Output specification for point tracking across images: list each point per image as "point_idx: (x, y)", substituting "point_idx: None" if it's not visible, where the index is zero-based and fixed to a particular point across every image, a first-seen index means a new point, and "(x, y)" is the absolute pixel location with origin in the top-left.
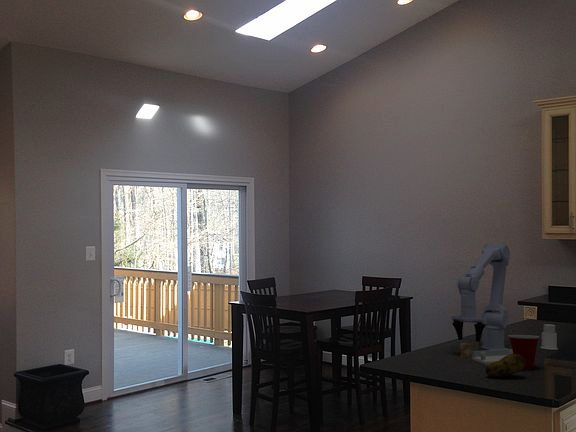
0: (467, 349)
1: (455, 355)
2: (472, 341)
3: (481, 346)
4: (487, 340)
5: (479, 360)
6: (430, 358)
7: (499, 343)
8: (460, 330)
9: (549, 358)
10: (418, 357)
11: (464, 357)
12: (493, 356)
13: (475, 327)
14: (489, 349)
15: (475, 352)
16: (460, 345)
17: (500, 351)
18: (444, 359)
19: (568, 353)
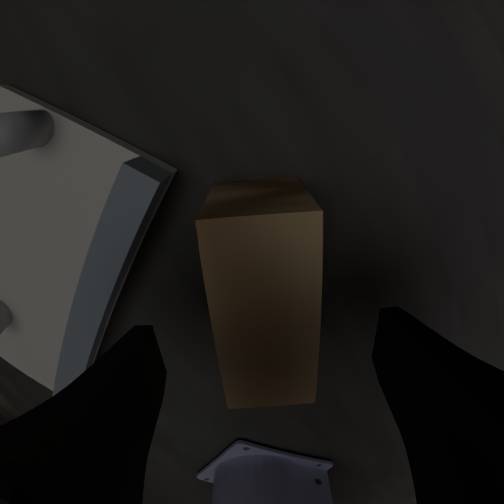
0: (220, 199)
1: (368, 217)
2: (278, 394)
3: (327, 465)
4: (282, 491)
5: (65, 115)
6: (439, 4)
7: (217, 488)
8: (424, 417)
9: (5, 408)
10: (499, 10)
11: (259, 179)
12: (70, 287)
13: (33, 455)
14: (258, 448)
15: (116, 181)
16: (316, 203)
17: (60, 355)
18: (347, 13)
19: None
